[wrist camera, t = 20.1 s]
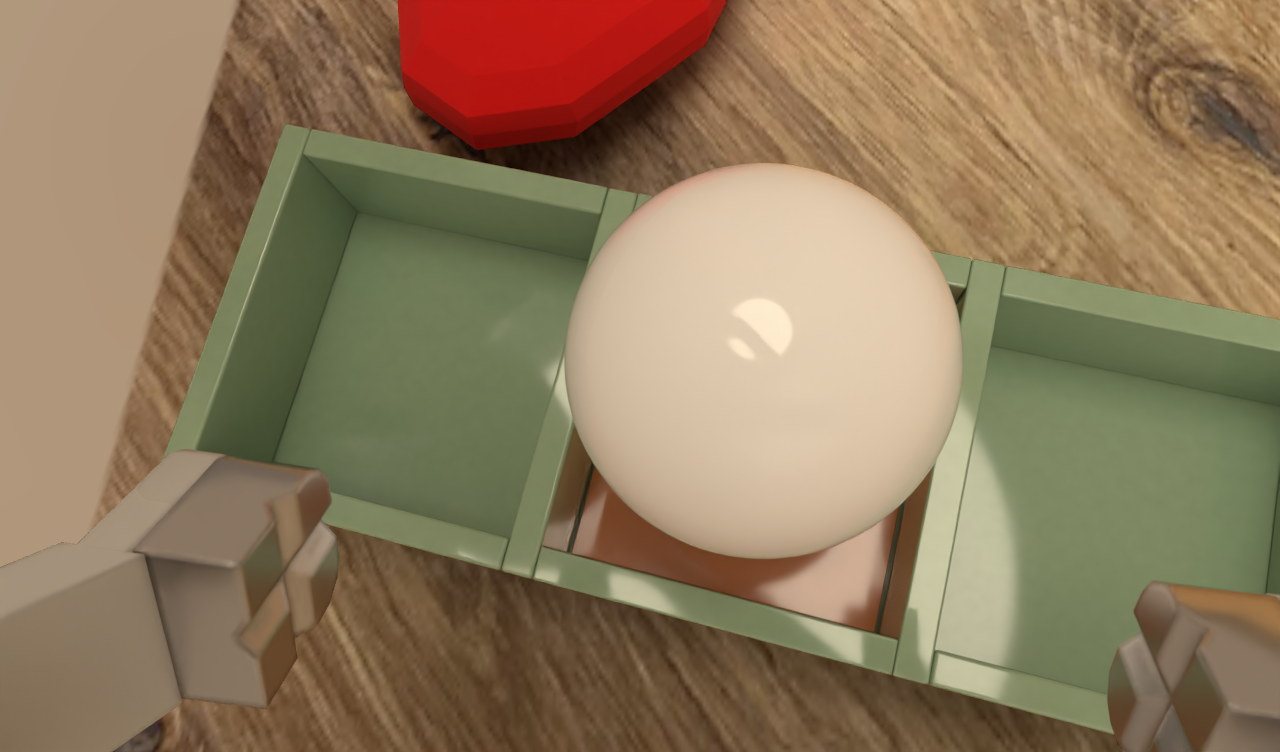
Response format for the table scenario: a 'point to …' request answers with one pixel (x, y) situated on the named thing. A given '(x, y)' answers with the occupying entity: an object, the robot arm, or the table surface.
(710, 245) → the lightbulb
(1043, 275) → the green compartment box
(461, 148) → the table surface
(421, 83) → the heart
